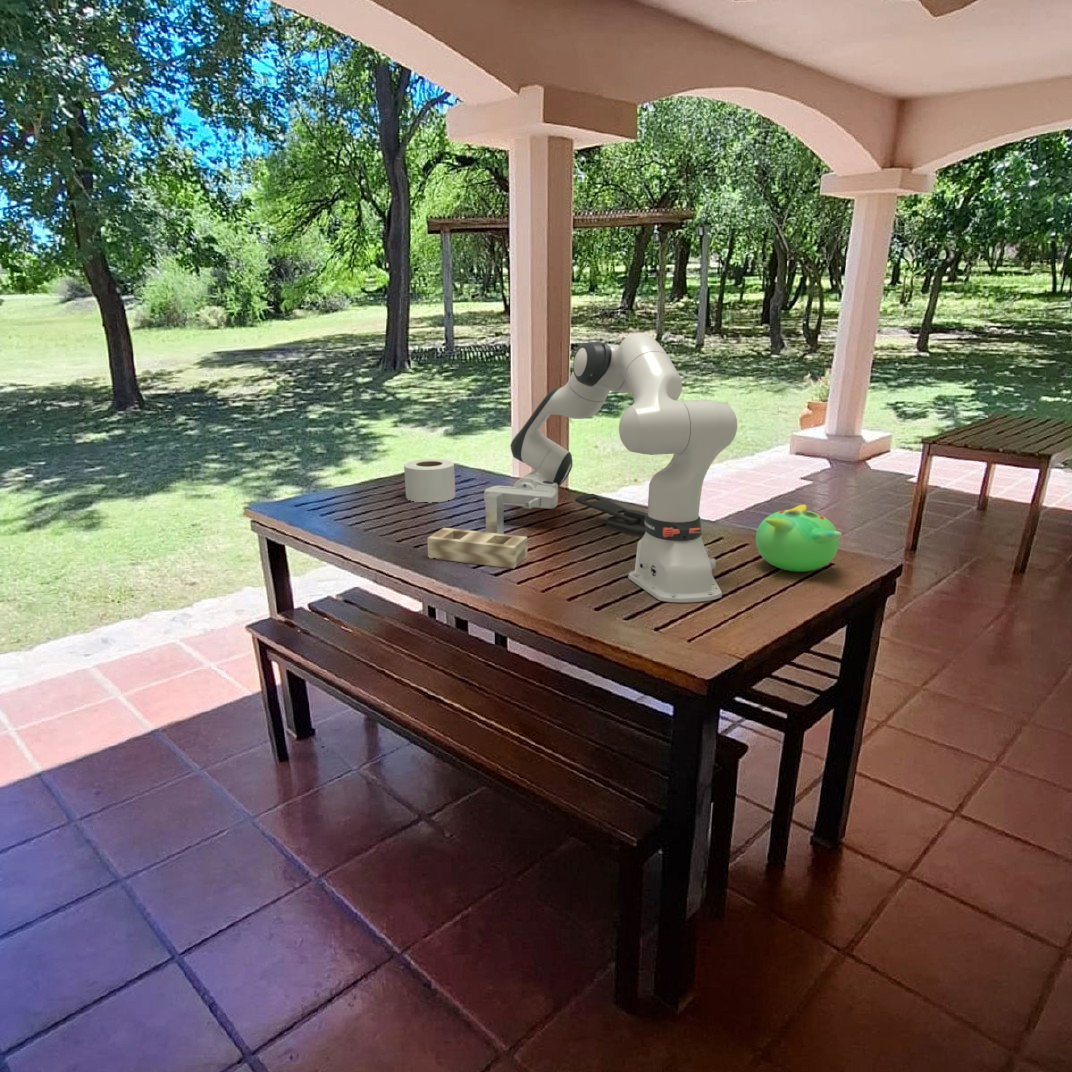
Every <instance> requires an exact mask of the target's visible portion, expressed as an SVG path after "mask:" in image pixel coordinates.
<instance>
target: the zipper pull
mask: <svg viewBox="0 0 1072 1072" xmlns="http://www.w3.org/2000/svg"><path fill="white" fill-rule="evenodd" d="M592 500H594V501H592ZM574 502H575V503H579V504H580V505H583V506H586V507H589V508H591V509H594V510H597V511H600V512H603V513H605V514H608V515H611V516H610V517H609V516H608V517H607V518H606V523H605V525H606V526H605V527H606V528H607V529H609V530H612V531H616V532H619V533H622V534H626V535H628V536H631V537H638V538H642V537H643V536H644V534H645V532H646V531H645V517H646V514H647V513H648V512H644V511H639V510H635V509H628V508H626V507H624V506H621V505H619V504H616V502H613V501H610V500H608V499H605V498H604V497H601V496H599V495H597V494H594V493H585V494H583V495H580V496H577V497H576V498H575V499H574Z"/></svg>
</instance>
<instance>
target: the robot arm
mask: <svg viewBox="0 0 1072 1072" xmlns="http://www.w3.org/2000/svg"><path fill="white" fill-rule="evenodd" d="M572 362H573V363H572V370H573V371H572V373H571V375H570V376H569V379H568V381H567V382H566V383H565V384H564V385H563V386H561V387H559V386H557V387H554V388H552V389H551V390H550V391H549V392H548V393H547V394H546V395H545V397H544V398H543V399H542V401H540V403H539V404H538V406H537V407H536V408H535V409H534V411H533V412H532V414H531V415H530V417H528V419H527V421H526V422H525V424H524V425H523V426H522V428H521V429H520V430H519V431H517V433H516V434H515V436H514V437H513V438H512V440H511V443H510V450H511V454H512V456H513V458H514V459H516V460H518V461H520V462H521V463H524V464H525V465H528V466H529V467H530V468H531V469H533V470H532V471H530V472H529V473H527V474H526V475H524V476H523V477H521V478H520V479H518V480H517V481H515V482H514V484H513V486H511V485H493V486H491V487H488V488H485V489H484V492H483V498H484V499H483V501H484V502H485V496H486V495H487V494H489V493H491V492H502V493H503V505H504V506H505V505H508V506H517V507H521V508H523V509H532V508H539V509H549V510H550V509H555V508H556V507H557V506H558V501H559V487H560V486H561V485H562V484H563V483H564V482H565V480H566V479H567V478H568V477H569V474H570V473H571V471H572V468H573V466H574V465H573V455H572V453H571V452H570V451H569V450H567V449H565V448H564V447H563V446H562V445H560V444H558V443H556V442H555V441H553V440H552V439H550V438H548V437H547V436H545V435H544V434H543V433H542V431H541V429H542V427H543V425H544V424H545V423H546V421H547V420H548V419H549V418H550V416H552V415H556V416H557V415H558V416H563V417H566V418H570V419H575V420H578V419H579V420H581V419H582V420H583V419H584V420H585V419H587V418H591V417H593V416H595V415H596V414H598V413H599V411H600V409H601V408H602V406H603V405H604V404H605V401H606V400H607V397H608V396H609V394H610V391H611V392H614V393H620V394H631V396H632V399H633V404H632V405H629V406H628V407H627V408H626V409H625V410H624V412H623V413H622V415H621V418H620V420H619V425H618V433H619V434H618V435H619V438H620V440H621V443H622V445H623V446H624V447H625V448H626V449H627V451H629V452H631V453H636V454H643V455H648V456H655V455H656V456H657V455H673V456H672V458H671V460H670V461H669V463H668V464H667V465H666V466H665V467H664V468H662V469H661V470H659V471H657V472H656V473H655V474H653V476H652V477H651V479H650V481H649V484H648V497H647V499H648V501H647V512H646V513H647V514H646V517H645V531H646V532H645V534H644V536H643V537H640V539H639V540H638V542H637V546H636V556H635V565H634V570H632V571H630V572H629V573H628V576H627V578H628V579H629V580H630V581H632V582H633V583H634V584H636V585H638V587H640V588H642V589H643V590H644V591H645V592H647V593H649V595H651V596H652V597H654V598H655V599H657V600H659V601H661V602H668V603H700V602H701V603H702V602H709V601H714V600H717V599H720V598H722V597H723V592H722V590H721V588H720V585H718V583H717V581H716V580H715V577H714V576H713V572H712V571H713V570H715V569H716V565H717V563H716V562H717V561H716V558H714V557H713V558H711V557H710V558H709V555H708V554H709V548H708V547H705V543H704V541H703V538H702V522H701V516H700V505H701V499H702V498H701V496H702V490H703V489H702V488H703V484H704V481H705V478H706V475H707V474H708V471H709V469H710V467H711V466H712V464H713V463H714V460H715V459H716V458H717V457H718V456H719V454H720V453H722V452H723V451H724V450H725V449H726V448H728V447H729V446H730V445H731V444H732V442H733V441H734V439H735V437H736V435H737V431H738V418H737V416H736V413H735V411H734V409H733V408H732V407H731V406H730V405H729V404H727V403H725V402H720V401H714V400H707V399H701V400H700V399H699V400H679V398H680V396H681V394H682V389H683V383H682V382H683V381H682V378H681V377H682V376H680V373H679V372H678V370H677V369H676V367H675V365H674V364H673V362H672V360H671V358H670V357H669V355H668V354H667V351H665V349H664V348H663V346H662V345H661V344H660V342H658V341H657V340H656V339H655V338H654V337H652V335H650V334H648V333H646V332H634V333H632V334H629V335H628V336H626V337H625V338H624V339H623V340H622V342H621V343H620V344H613V343H607V342H601V341H588V342H585V343H583V344H582V345H580V346H579V347H578V349H577V350H576V352H575V354H574V358H573V361H572Z"/></svg>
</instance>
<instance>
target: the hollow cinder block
mask: <svg viewBox="0 0 1072 1072" xmlns="http://www.w3.org/2000/svg"><path fill="white" fill-rule="evenodd" d="M426 541H427V558H428V557H429V558H428V559H433V558H436V559H435V560H441V561H442V560H443V561H449V562H450V561H452V562H459V563H466V564H467V563H468V564H475V565H483V566H490V567H491V566H492V567H498V568H505V569H506V568H507V569H515V568H516V567H518V566H519V563H522V562H523V561H524V560H526V559H527V558H528V536H523V535H515V534H505V533H504V534H497V533H488V532H486V531H478V530H469V529H459V528H453V527H452V528H451V527H442V528H441V529H440V530H438V531H436V532H434V533H433V534H431V535H429V536H428V537H427V539H426Z"/></svg>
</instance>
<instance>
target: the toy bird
mask: <svg viewBox="0 0 1072 1072" xmlns="http://www.w3.org/2000/svg"><path fill="white" fill-rule="evenodd" d="M842 534H843V533H842V532H841V531H837V529H836V527H835V525H834V524H833V522H831V521H830V520H829V519H828V518H827V517H825V516H823V515H821V514H820V513H817V512H814V511H811V510H807V505H806V504H804V503H803V504H799V505H797V506H795V507H793V508H791V509H782V510H780V511H776V512H773V513H771V514H770V515H768V516H767V517H765V518H764V519H763V520H762V521H761V522H760V524H759V525H758V527H757V530H756V533H755V547H756V548H757V551H758V553H759V555H760V556H761V557H762V559H763V560H764V561H766V563H768V564H770V565H771V566H774V567H776V568H779V569H781V570H784V571H787V572H788V571H789V572H795V573H797V572H798V573H801V572H804V573H805V572H812V571H817V570H819V569H821V568H823V567H825V566H827V565H828V564H829V563H830V562H831V561H832V560H833V559H834V558H835V556H836V555H837V553H838V549H839V546H840V538H841V537H842V536H843V535H842Z"/></svg>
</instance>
